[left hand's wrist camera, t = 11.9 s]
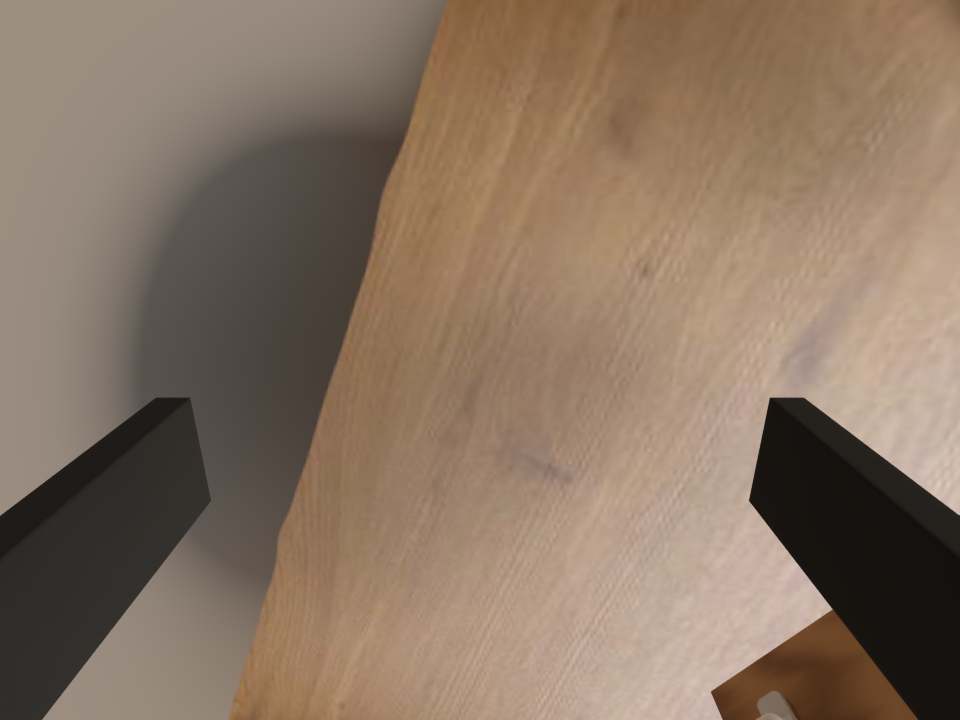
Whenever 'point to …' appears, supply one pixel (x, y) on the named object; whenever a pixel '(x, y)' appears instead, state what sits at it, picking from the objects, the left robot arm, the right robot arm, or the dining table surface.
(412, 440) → the dining table surface
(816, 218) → the dining table surface
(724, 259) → the dining table surface
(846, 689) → the bar
